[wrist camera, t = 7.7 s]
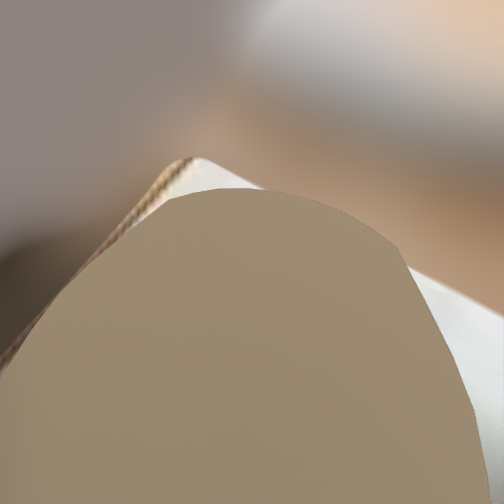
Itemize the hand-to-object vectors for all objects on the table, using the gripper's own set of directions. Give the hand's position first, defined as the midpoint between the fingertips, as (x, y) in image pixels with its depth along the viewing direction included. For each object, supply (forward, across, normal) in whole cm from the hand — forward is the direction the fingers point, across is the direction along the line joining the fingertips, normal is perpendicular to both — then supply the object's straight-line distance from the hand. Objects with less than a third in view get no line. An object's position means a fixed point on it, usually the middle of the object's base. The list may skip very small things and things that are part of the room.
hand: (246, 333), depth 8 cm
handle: (+4, 0, +9) cm, 10 cm away
